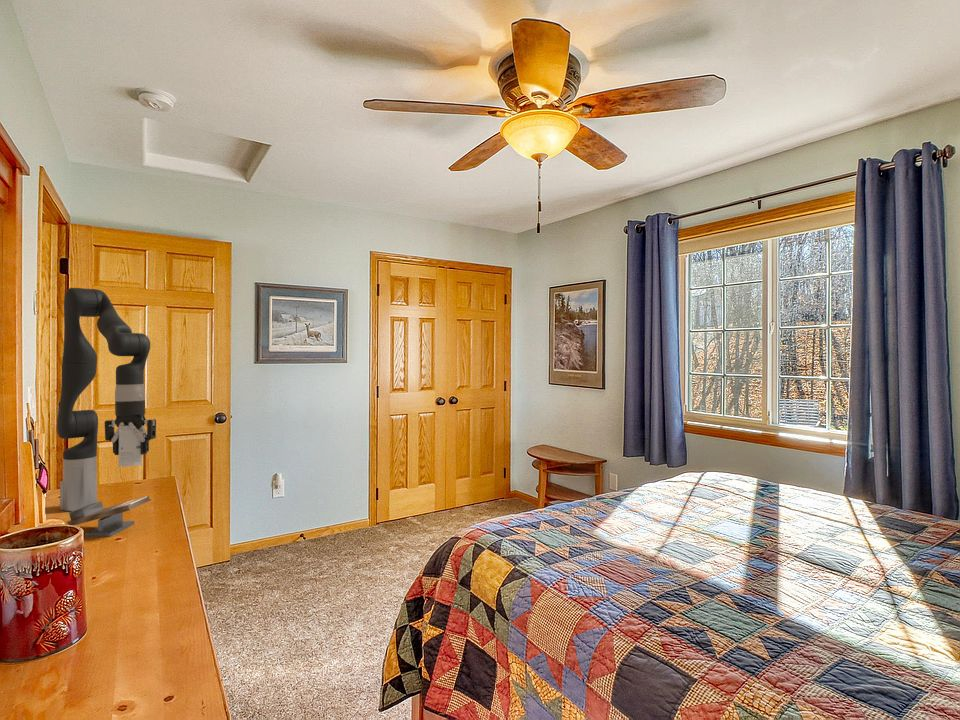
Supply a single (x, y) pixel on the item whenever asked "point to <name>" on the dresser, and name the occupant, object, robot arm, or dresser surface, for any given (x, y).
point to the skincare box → (129, 447)
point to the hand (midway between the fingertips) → (130, 454)
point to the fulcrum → (109, 526)
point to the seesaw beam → (102, 510)
